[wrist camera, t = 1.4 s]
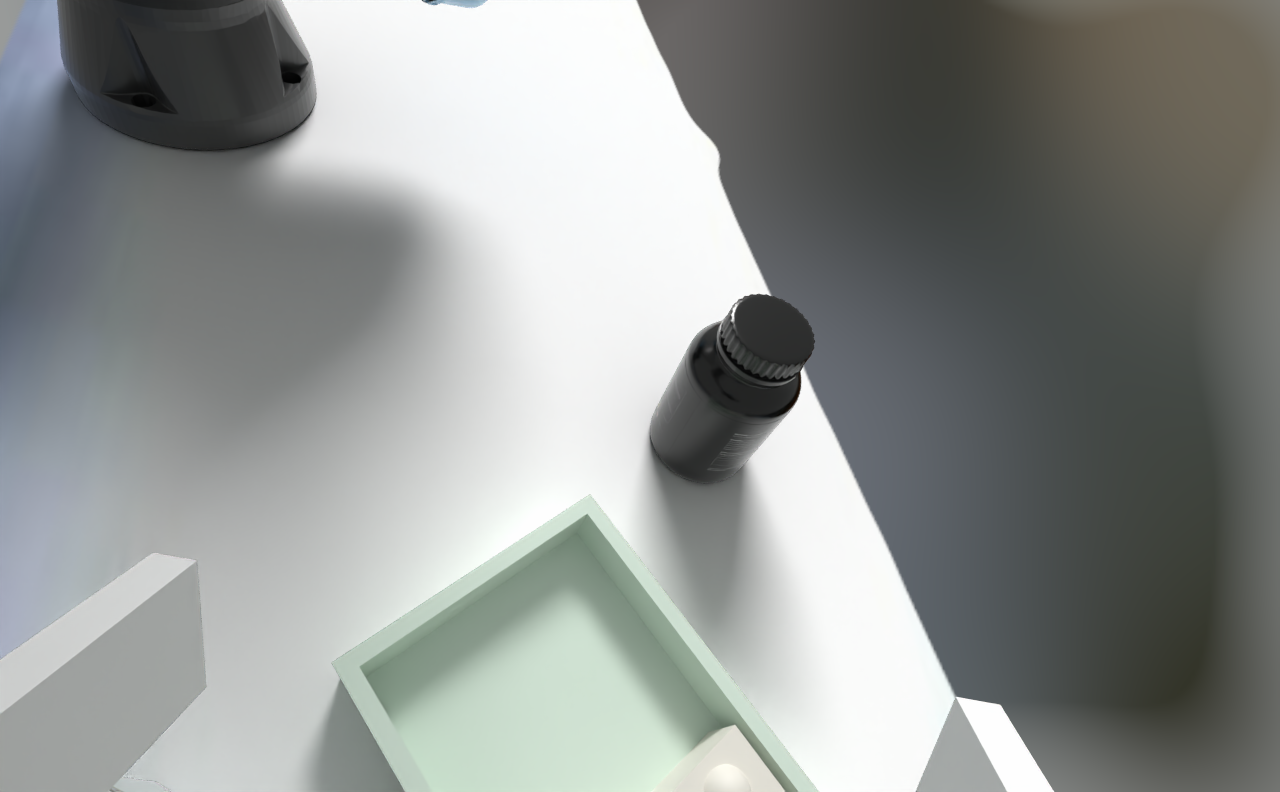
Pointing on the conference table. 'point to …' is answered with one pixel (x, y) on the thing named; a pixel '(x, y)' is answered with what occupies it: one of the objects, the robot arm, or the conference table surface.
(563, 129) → the conference table surface
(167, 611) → the robot arm
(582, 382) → the conference table surface
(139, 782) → the supplement box
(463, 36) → the conference table surface
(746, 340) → the supplement bottle
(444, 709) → the pale green tray
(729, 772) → the egg carton
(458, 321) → the conference table surface
